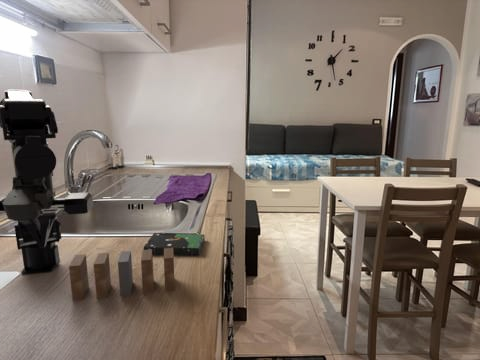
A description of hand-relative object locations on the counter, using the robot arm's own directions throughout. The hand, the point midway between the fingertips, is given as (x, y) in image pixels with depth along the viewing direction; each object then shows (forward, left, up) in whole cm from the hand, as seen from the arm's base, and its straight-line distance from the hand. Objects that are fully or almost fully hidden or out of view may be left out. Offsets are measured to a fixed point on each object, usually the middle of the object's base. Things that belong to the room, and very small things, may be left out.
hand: (42, 246), depth 66 cm
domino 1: (+6, 0, -11) cm, 12 cm away
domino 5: (+24, 0, -11) cm, 26 cm away
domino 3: (+15, 0, -11) cm, 19 cm away
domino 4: (+20, 0, -11) cm, 22 cm away
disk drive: (+26, +20, -12) cm, 34 cm away
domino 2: (+11, 0, -11) cm, 15 cm away
